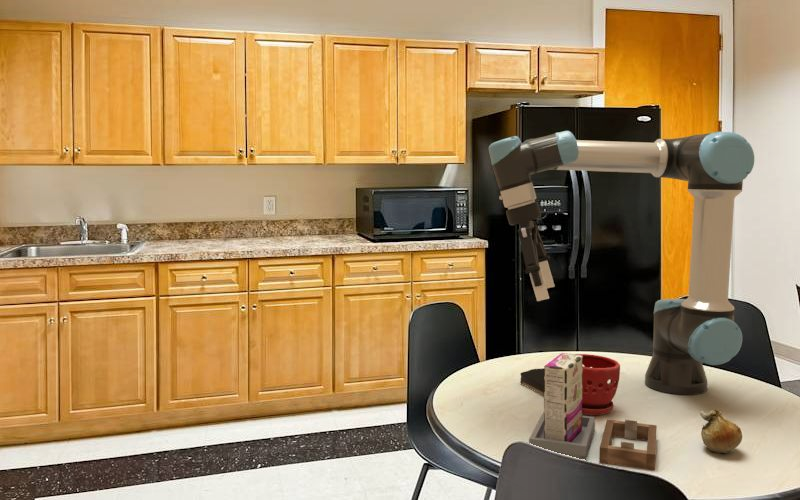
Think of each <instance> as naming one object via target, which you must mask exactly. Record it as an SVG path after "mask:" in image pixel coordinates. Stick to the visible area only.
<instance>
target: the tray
mask: <svg viewBox="0 0 800 500" xmlns="http://www.w3.org/2000/svg"><path fill="white" fill-rule="evenodd" d="M539 417H540V418H539V419H538V422H537V423H536V425H535V426H534V429H533V430H532V432H531V434H530V436H529V438H528V444H529V443H531V444H533V445H536V446H539V447H542V448H544V449H548V450H551V451H554V452H557V453H561V454H565V455H569V456H572V457H576V458H579V459H585V460H586V461H587V457H588V454H589V451H590V448H591V445H592V441H593V438H594V434H595V431H596V428H595V427H596V416H591V415H582V430H581V431H580V432H579V433H578V434H577V436H576V437H575V438H574V439H573V440H572V441H571V442H565V441H557V440H550V439H544V411H543V412H542V414H541V416H539Z"/></svg>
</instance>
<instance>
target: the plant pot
mask: <svg viewBox="0 0 800 500" xmlns="http://www.w3.org/2000/svg"><path fill="white" fill-rule="evenodd" d="M574 355H581V356H583V362H582V366H583V371H582V415H584V416H597V415H598V416H600V415H605V414H608V413H610V412H611V411H612V410H613V408H614V406H615V405H614V402H613V401H612V400H613V399H614V397H615V395H616V393H617V390H618V387H619V382H620V373H621V365H620V362H618V361H617V360H616V359H613V358H611V357H607V356H603V355H602V356H601V355H596V354H590V353H589V354H588V353H575V354H574ZM609 380H610V382H609V383H608V381H609Z"/></svg>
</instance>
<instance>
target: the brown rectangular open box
mask: <svg viewBox="0 0 800 500" xmlns="http://www.w3.org/2000/svg"><path fill="white" fill-rule="evenodd" d="M657 427H658V426H657V425H655V424H651V423H650V424H649V423H648V424H647V423H642V422H641V423H640V422H638V420H634V419H633V420H632V419H631V420H630V419H625V420H615V419H608V418H607V419H606V422H605V425H604V428H603V432H602V436H601V441H600V444H599V457H598V460H599V463H601V464H602V463H605V464H609V465H617V466H625V467H631V468H637V469H645V470H650V471H651V470H652V471H655V466H656V454H657V453H656V449H657ZM614 437H615V438H624V439H627V440H634V441H635V440H636V441H637V440H639V441H641V440H642V441H647V443H646V444H647V445H646V449H640V448H639V449H637V448H635V442H628V441H620V446H615V445H612V443H613V440H614Z"/></svg>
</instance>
